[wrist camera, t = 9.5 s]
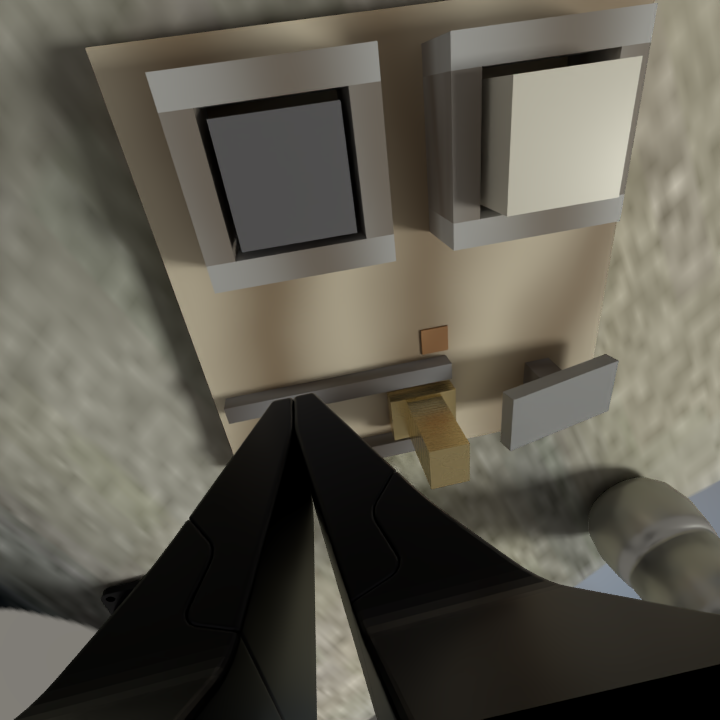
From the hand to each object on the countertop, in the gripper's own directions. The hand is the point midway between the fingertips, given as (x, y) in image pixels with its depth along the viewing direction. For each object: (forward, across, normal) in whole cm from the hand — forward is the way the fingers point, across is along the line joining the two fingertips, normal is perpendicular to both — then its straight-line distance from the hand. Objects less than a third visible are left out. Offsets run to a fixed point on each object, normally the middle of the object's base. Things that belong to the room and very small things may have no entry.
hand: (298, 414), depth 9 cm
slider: (+9, -5, +7) cm, 13 cm away
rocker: (+7, -11, +7) cm, 15 cm away
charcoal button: (+8, -1, -4) cm, 9 cm away
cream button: (+7, -9, -4) cm, 12 cm away
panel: (+11, -5, +1) cm, 12 cm away
